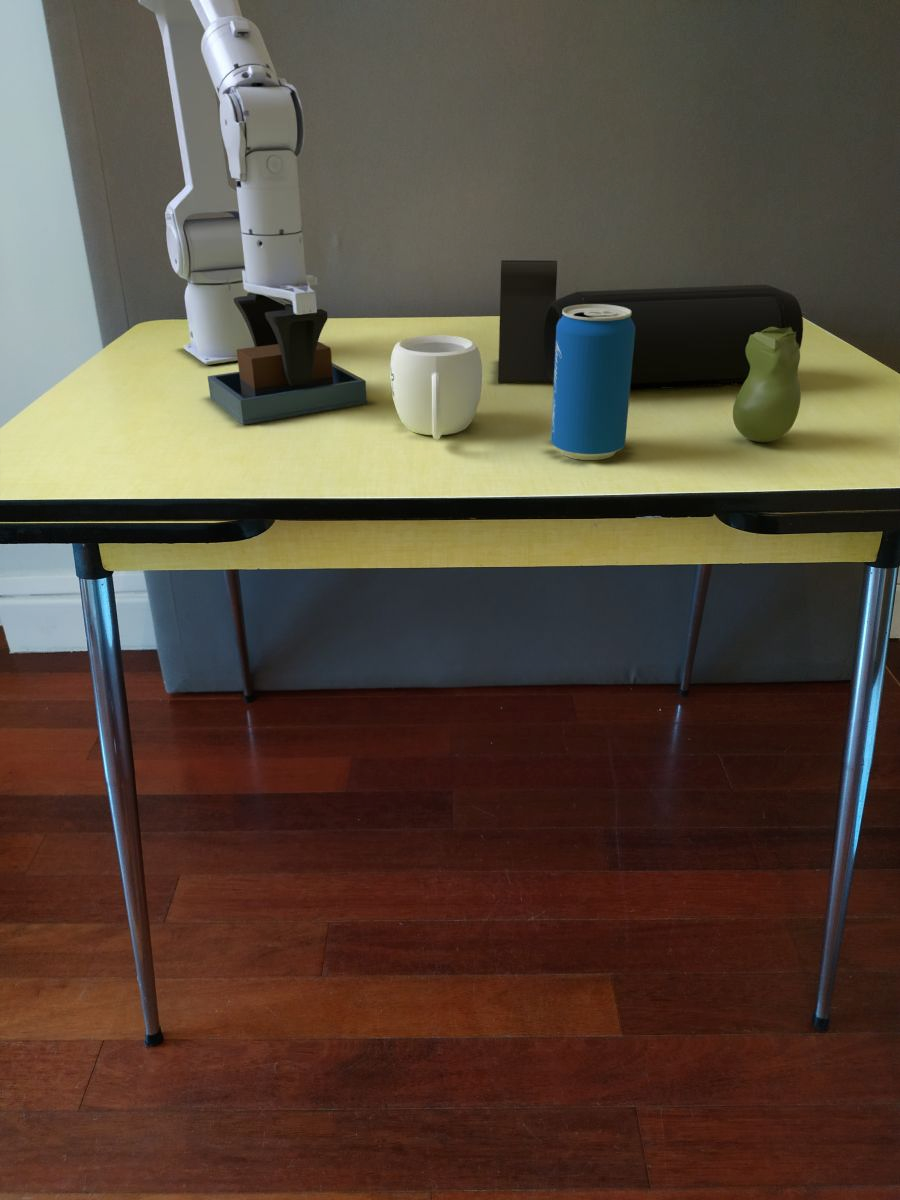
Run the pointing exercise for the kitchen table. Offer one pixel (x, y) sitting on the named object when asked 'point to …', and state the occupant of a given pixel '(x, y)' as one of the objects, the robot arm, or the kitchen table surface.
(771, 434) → the pear
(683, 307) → the portable speaker
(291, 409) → the tray
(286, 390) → the eraser
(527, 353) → the phone stand
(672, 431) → the kitchen table surface
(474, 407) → the mug
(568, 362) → the beverage can
